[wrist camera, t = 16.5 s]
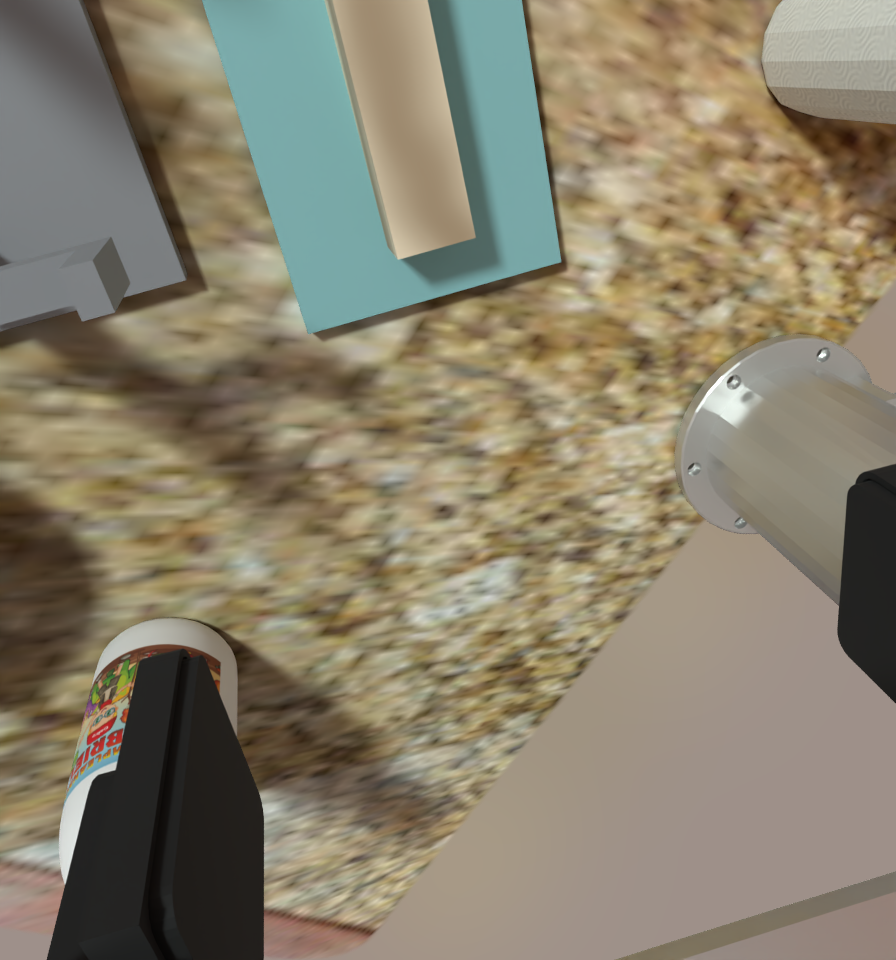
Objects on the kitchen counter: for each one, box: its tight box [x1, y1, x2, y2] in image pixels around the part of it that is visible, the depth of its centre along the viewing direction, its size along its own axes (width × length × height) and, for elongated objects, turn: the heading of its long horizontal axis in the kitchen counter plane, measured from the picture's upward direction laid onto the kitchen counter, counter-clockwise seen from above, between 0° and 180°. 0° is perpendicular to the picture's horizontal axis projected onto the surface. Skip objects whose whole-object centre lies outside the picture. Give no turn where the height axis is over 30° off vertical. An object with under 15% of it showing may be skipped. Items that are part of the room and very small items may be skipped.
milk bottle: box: [59, 617, 238, 884], centre depth 39 cm, size 8×8×20 cm
